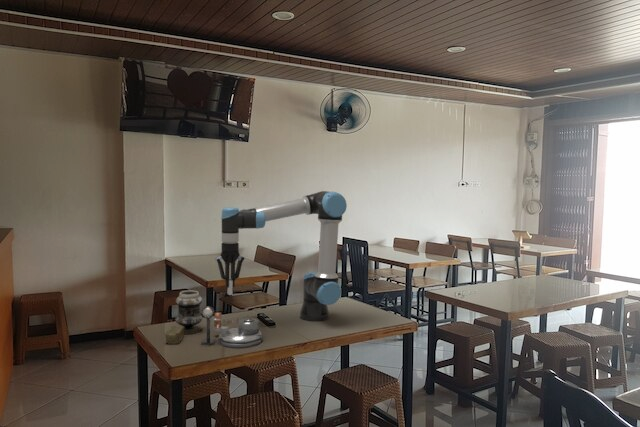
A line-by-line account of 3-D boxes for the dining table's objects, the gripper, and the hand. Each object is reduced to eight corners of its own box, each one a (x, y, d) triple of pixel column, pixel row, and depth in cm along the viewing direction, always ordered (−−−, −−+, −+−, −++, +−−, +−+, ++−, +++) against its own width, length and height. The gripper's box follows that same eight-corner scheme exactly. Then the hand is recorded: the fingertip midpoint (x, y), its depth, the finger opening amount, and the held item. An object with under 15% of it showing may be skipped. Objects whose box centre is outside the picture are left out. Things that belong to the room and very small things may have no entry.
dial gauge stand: (222, 341, 210) (222, 304, 209) (219, 345, 205) (219, 307, 204) (204, 340, 210) (204, 304, 209) (200, 344, 205) (200, 307, 204)
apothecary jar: (203, 333, 221) (203, 294, 219) (176, 336, 216) (176, 296, 215) (200, 325, 232) (200, 288, 231) (174, 328, 228) (174, 290, 226)
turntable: (227, 326, 225) (227, 308, 225) (269, 333, 216) (269, 314, 215) (202, 337, 209) (202, 317, 208) (246, 345, 199) (246, 325, 199)
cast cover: (245, 327, 220) (245, 315, 219) (262, 330, 216) (263, 317, 215) (234, 333, 211) (234, 320, 211) (251, 336, 208) (251, 323, 207)
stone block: (164, 345, 205) (164, 333, 205) (171, 336, 216) (171, 325, 216) (178, 344, 205) (178, 333, 205) (184, 336, 217) (184, 325, 216)
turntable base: (265, 334, 221) (265, 330, 221) (258, 348, 202) (259, 345, 202) (223, 333, 221) (223, 329, 221) (213, 347, 202) (213, 344, 202)
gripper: (241, 240, 223) (240, 291, 225) (213, 241, 217) (213, 293, 219) (246, 242, 217) (246, 294, 218) (218, 243, 210) (218, 297, 212)
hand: (229, 294), depth 219 cm, fingers closed
